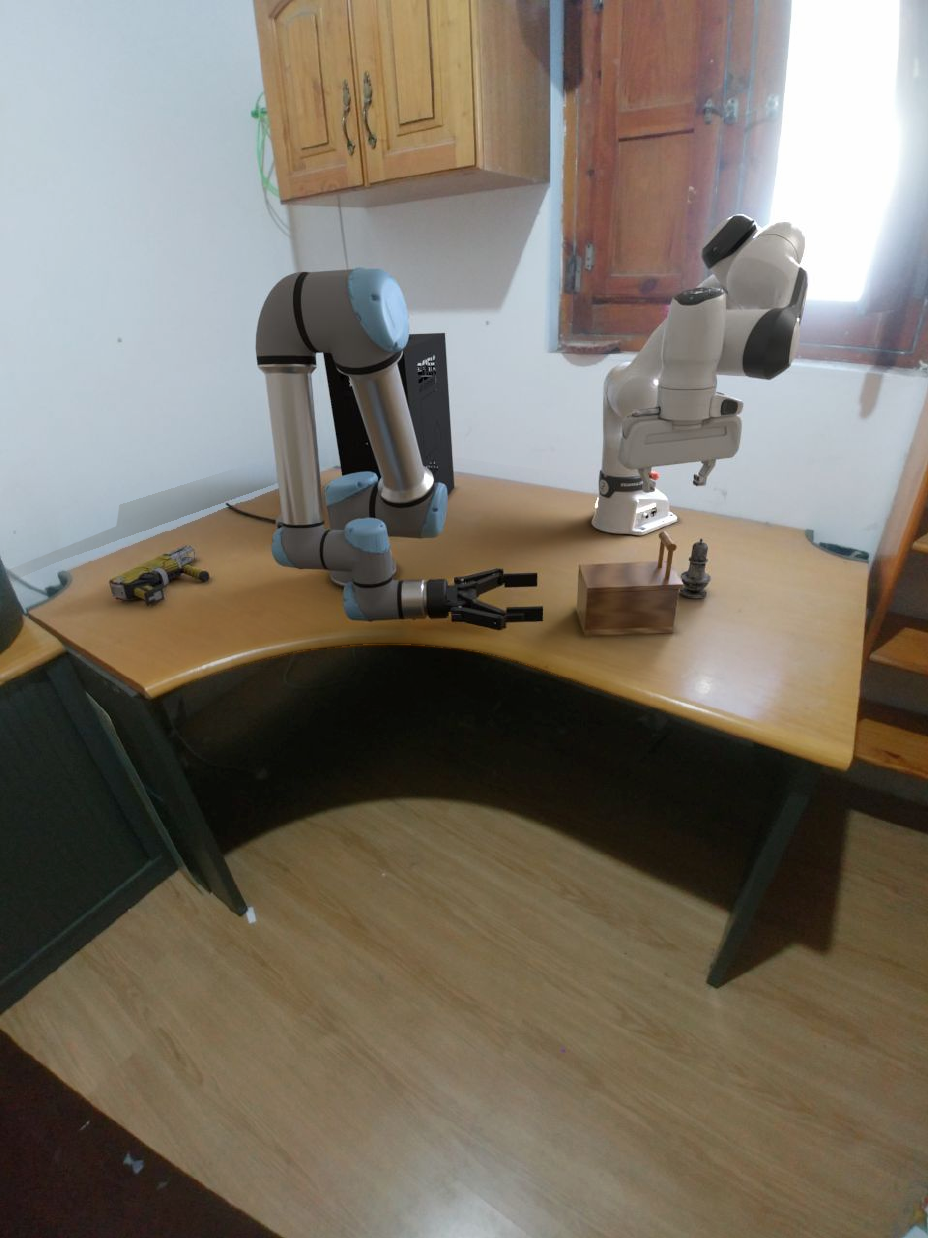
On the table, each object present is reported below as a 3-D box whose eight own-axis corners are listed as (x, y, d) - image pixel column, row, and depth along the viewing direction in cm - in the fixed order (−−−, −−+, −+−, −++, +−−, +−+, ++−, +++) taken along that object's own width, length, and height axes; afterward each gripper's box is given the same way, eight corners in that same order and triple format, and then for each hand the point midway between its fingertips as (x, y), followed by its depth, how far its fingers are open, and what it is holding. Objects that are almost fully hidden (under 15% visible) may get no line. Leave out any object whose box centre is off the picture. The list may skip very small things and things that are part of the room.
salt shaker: (710, 599, 121) (719, 544, 115) (679, 598, 123) (687, 543, 117) (706, 586, 126) (715, 532, 120) (676, 585, 128) (684, 532, 122)
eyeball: (273, 537, 164) (268, 516, 161) (287, 528, 169) (282, 508, 166) (291, 539, 161) (286, 518, 158) (305, 530, 166) (301, 510, 163)
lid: (667, 565, 116) (672, 526, 112) (683, 589, 107) (689, 547, 103) (578, 568, 117) (580, 530, 113) (587, 592, 108) (589, 551, 104)
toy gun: (232, 553, 147) (182, 542, 151) (158, 593, 127) (102, 580, 131) (234, 570, 150) (185, 559, 154) (162, 613, 130) (107, 599, 134)
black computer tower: (420, 531, 161) (403, 349, 139) (350, 528, 166) (322, 351, 143) (454, 487, 193) (445, 332, 170) (394, 486, 197) (377, 335, 175)
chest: (658, 606, 121) (663, 565, 116) (673, 632, 112) (679, 589, 107) (576, 609, 121) (578, 569, 117) (584, 635, 112) (587, 593, 108)
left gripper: (433, 586, 126) (535, 583, 125) (423, 652, 105) (545, 649, 104) (430, 554, 123) (535, 550, 122) (419, 614, 101) (546, 611, 100)
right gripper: (632, 414, 92) (625, 501, 99) (753, 401, 95) (737, 487, 102) (615, 406, 97) (609, 489, 104) (729, 395, 101) (716, 476, 107)
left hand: (540, 595), depth 113 cm, fingers open, 13 cm apart
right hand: (673, 488), depth 103 cm, fingers open, 8 cm apart
